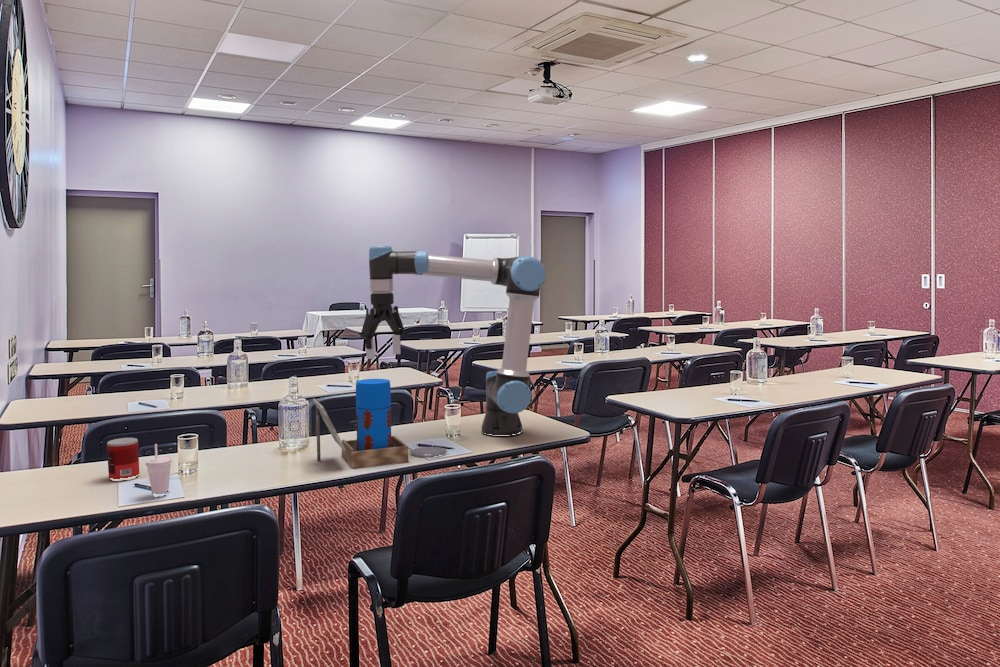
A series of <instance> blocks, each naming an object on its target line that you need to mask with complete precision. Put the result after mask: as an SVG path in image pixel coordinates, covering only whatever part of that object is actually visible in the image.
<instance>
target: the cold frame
mask: <svg viewBox="0 0 1000 667" xmlns="http://www.w3.org/2000/svg"><path fill="white" fill-rule="evenodd" d="M312 400H313V402H314V405H315V407H316V408H315V418H316V419H315V423H316V425H315V426H316V429H315V430H316V459H317V460H316V461H317V462H318V463H319V461H320V462H321V430H320V429H321V426H320V424H321V422H320V417H322V420H323V421H324V423H325V425H326V427H327V430H328V431H329V433H330V434H331V437H332V438H333V441H335V443H336V444H337V446H339V448H341V457H342V459H343V460H344V461H345V462H346V463H347V465H348V466H349V467H350V468H351V469H352V470H353V469H361V468H370V467H378V466H387V465H388V466H389V465H397V464H404V463H406V464H407V463H409V446H408V445H407V444H406V443H405V442H403V441H402V440H401V439H400V438H398V437H397V436H395V435H391V448H383V449H373V450H364V451H357V439H350V440H345V439H341V438H340V435H339V434H338V432H337V429H336V428H335V427H334V424H333V422H332V421H331V419H330V417H329V415H328V413H327V411H326V409H325V407H324V406H323V405H322V404H321V403H320V402H319V401H318V400H317V399H315V398H313V399H312Z"/></svg>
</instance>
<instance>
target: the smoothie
mask: <svg viewBox="0 0 1000 667" xmlns="http://www.w3.org/2000/svg"><path fill="white" fill-rule="evenodd" d="M172 463H173V458H172V457H169V456H159V457H158V444H157V443H155V444H154V457H152V458H148V459H147V460H146V461H145V466H146V467H147V472H148V478H149V484H150V488H151V489H150V490H151V494H152V493H155V494H163V493H165V492H167V491H168V492H169V488H170V478H171V467H172V466H171V465H172Z"/></svg>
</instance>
